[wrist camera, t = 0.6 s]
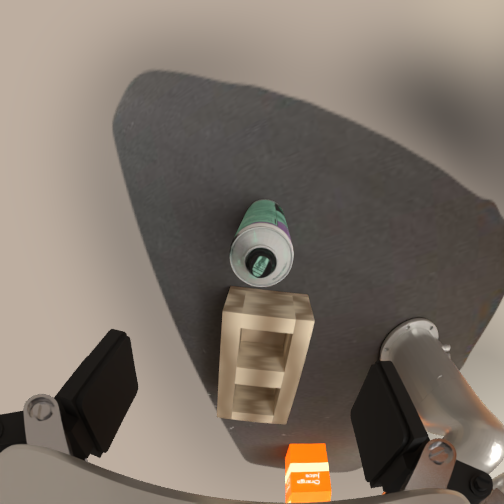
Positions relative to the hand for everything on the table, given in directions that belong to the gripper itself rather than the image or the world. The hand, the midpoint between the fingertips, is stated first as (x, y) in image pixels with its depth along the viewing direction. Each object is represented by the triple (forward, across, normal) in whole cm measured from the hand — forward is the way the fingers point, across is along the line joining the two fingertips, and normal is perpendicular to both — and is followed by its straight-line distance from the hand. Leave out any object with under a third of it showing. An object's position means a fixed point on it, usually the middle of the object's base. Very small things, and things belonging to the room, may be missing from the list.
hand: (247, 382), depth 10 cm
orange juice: (+32, -17, +55) cm, 66 cm away
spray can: (+32, 0, 0) cm, 32 cm away
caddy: (+32, -2, +22) cm, 39 cm away
